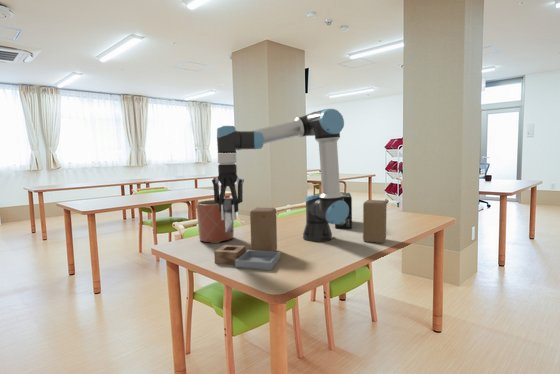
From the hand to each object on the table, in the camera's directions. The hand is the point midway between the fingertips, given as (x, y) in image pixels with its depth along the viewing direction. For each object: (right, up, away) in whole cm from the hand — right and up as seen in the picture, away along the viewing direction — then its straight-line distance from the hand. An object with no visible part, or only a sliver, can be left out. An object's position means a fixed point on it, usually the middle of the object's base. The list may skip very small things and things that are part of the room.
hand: (229, 219), depth 140 cm
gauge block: (0, -17, +2) cm, 18 cm away
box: (+60, -10, +66) cm, 90 cm away
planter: (-12, -14, +37) cm, 41 cm away
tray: (+13, -18, -3) cm, 22 cm away
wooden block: (+14, -16, +12) cm, 25 cm away
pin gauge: (0, -5, 0) cm, 5 cm away
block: (+69, -14, +28) cm, 76 cm away
